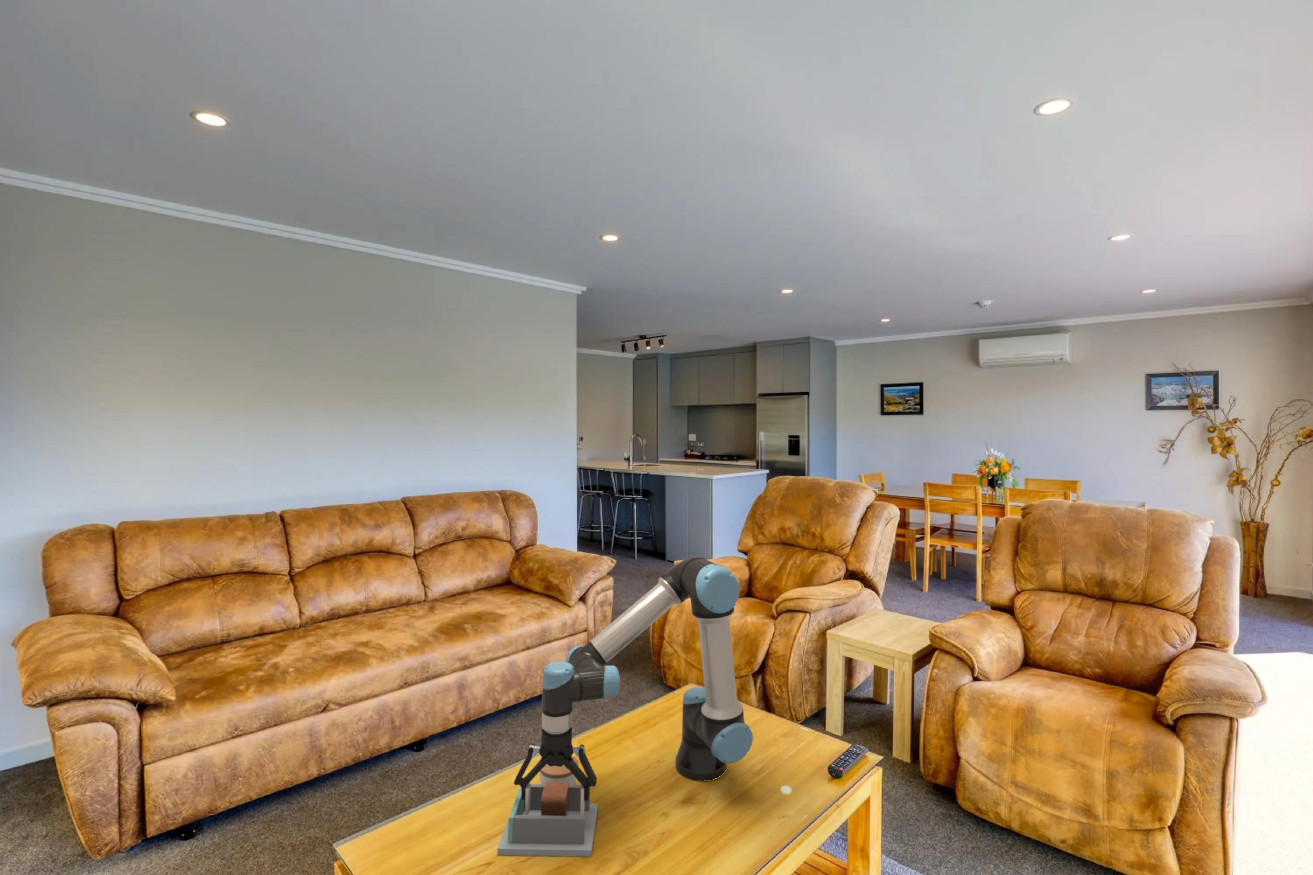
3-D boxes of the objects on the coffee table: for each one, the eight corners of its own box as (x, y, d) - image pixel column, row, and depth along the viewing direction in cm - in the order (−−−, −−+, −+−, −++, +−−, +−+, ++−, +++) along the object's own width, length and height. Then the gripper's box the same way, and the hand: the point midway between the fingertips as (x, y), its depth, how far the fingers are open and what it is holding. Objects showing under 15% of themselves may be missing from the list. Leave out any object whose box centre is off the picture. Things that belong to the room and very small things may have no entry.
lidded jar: (570, 805, 163) (571, 770, 163) (532, 799, 165) (533, 765, 165) (582, 782, 173) (583, 750, 173) (547, 777, 176) (548, 745, 175)
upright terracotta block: (568, 817, 156) (569, 781, 156) (565, 832, 150) (566, 796, 150) (544, 816, 156) (545, 781, 155) (540, 832, 150) (541, 795, 149)
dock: (597, 808, 162) (598, 780, 162) (591, 856, 144) (591, 824, 144) (514, 807, 161) (514, 779, 161) (497, 854, 143) (498, 823, 143)
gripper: (608, 720, 156) (606, 803, 156) (510, 719, 156) (508, 801, 156) (605, 735, 149) (603, 822, 149) (503, 733, 148) (501, 820, 149)
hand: (554, 811), depth 152 cm, fingers open, 13 cm apart
